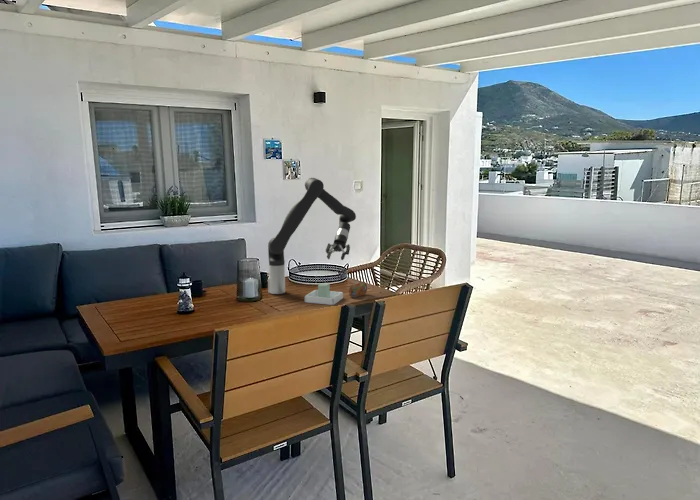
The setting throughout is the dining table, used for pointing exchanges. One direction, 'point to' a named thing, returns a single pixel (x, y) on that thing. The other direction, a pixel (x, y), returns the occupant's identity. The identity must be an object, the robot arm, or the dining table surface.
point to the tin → (357, 289)
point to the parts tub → (314, 298)
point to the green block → (324, 290)
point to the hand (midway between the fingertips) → (335, 258)
